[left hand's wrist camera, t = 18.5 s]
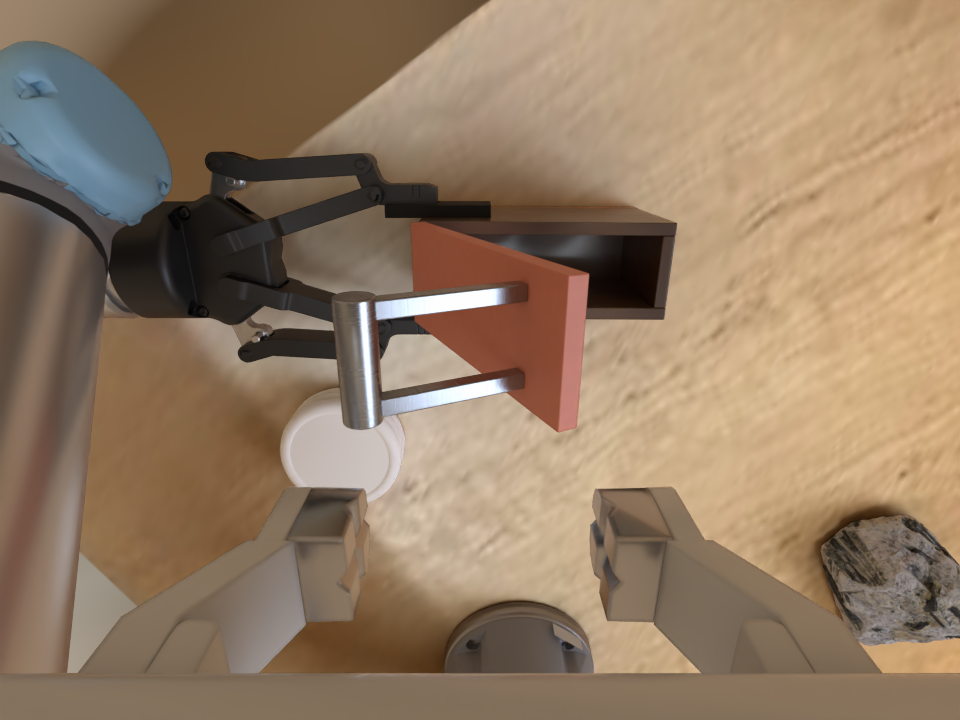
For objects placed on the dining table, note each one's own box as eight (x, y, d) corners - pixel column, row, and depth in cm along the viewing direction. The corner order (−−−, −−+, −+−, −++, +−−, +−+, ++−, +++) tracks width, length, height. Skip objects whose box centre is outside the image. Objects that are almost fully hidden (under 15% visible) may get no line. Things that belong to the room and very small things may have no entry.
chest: (634, 207, 40) (677, 222, 31) (625, 284, 42) (664, 320, 34) (432, 205, 40) (418, 220, 31) (433, 283, 42) (421, 318, 34)
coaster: (399, 492, 49) (393, 516, 46) (289, 477, 49) (275, 501, 45) (412, 394, 46) (407, 413, 42) (293, 376, 45) (279, 394, 42)
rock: (805, 536, 51) (854, 595, 44) (915, 492, 49) (983, 547, 43) (844, 634, 56) (894, 700, 50) (945, 598, 54) (1010, 661, 48)
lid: (589, 273, 18) (350, 298, 15) (577, 428, 20) (365, 481, 17) (424, 221, 31) (277, 229, 28) (427, 319, 33) (291, 337, 30)
